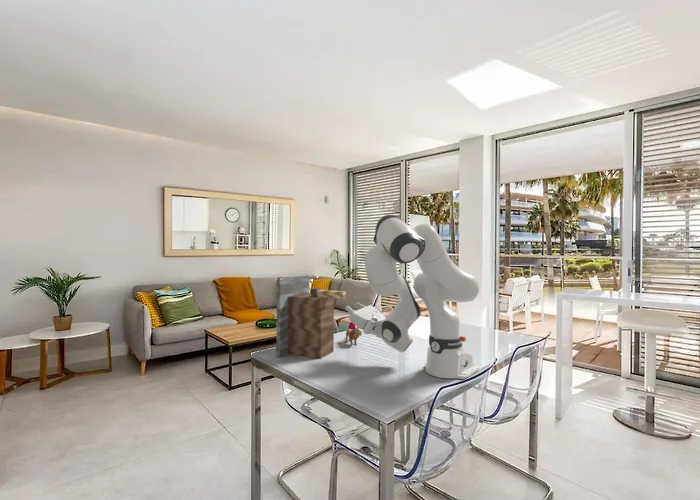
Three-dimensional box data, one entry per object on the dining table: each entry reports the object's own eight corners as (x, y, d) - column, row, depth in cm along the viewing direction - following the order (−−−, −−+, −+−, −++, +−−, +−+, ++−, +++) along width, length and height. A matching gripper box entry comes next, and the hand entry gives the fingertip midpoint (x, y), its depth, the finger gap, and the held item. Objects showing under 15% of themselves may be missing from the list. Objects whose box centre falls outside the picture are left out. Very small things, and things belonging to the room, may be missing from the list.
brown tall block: (339, 348, 178) (339, 277, 177) (313, 362, 156) (313, 281, 156) (305, 343, 186) (305, 275, 186) (276, 356, 164) (276, 279, 164)
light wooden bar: (346, 298, 165) (346, 289, 165) (342, 299, 161) (342, 290, 161) (315, 295, 172) (315, 287, 172) (311, 296, 168) (311, 288, 168)
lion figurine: (363, 346, 182) (363, 327, 182) (354, 347, 179) (354, 329, 179) (348, 339, 195) (348, 322, 195) (339, 340, 192) (339, 323, 192)
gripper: (388, 313, 166) (364, 296, 171) (371, 322, 147) (344, 302, 152) (382, 324, 167) (357, 307, 172) (363, 335, 149) (337, 315, 154)
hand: (351, 305), depth 162 cm, fingers open, 8 cm apart
